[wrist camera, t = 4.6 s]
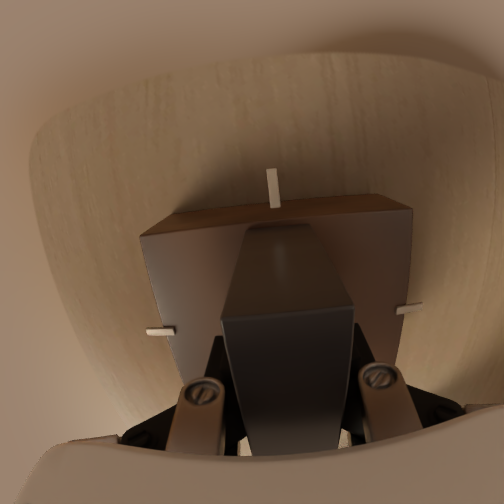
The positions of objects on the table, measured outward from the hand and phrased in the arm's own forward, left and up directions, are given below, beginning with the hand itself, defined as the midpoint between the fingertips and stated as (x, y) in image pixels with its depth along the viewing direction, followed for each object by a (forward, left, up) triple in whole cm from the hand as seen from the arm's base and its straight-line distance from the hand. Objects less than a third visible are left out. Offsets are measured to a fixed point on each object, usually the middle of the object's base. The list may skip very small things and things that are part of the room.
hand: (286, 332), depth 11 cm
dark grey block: (0, 0, -1) cm, 1 cm away
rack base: (0, 0, -5) cm, 5 cm away
